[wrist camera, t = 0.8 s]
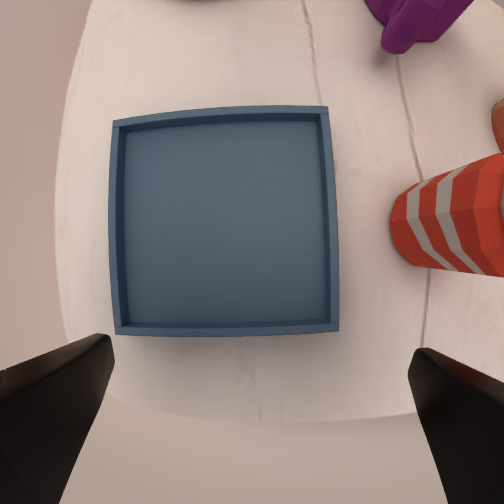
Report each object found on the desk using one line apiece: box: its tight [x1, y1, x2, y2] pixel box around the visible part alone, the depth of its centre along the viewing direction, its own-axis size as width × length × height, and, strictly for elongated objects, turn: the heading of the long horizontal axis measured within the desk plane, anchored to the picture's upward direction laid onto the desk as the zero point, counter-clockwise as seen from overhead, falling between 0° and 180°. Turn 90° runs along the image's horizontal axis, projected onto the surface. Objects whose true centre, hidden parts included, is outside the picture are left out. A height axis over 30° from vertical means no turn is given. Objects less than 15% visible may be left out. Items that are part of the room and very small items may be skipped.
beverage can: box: [390, 153, 504, 277], centre depth 16 cm, size 6×6×12 cm
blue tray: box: [108, 105, 339, 337], centre depth 21 cm, size 15×15×2 cm
